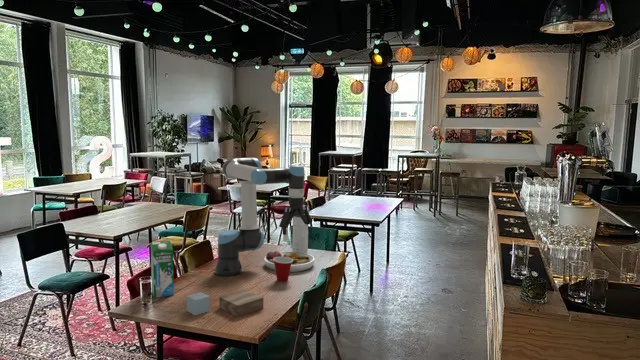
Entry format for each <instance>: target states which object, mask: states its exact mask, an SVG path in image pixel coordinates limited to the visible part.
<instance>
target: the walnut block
mask: <svg viewBox="0 0 640 360" xmlns="http://www.w3.org/2000/svg"><path fill="white" fill-rule="evenodd" d="M218 307H219V309H221V310H223V311H225V312H227V313H230V314H232V315H233V316H235V317H242V316H245V315H247V314H251V313H254V312H256V311H259V309H260V310H262V308H263V309H264V297H263V296H261V295H258V294H256V293H254V292H251V291H248V290H247V289H243V290H239V291H236V292H232V293H228V294H225V295H222V296H219V306H218Z"/></svg>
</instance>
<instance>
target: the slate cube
mask: <svg viewBox="0 0 640 360" xmlns="http://www.w3.org/2000/svg"><path fill="white" fill-rule="evenodd" d="M187 311H188V313H189V312H190V313H189V314H191V313H192V314H191V315H193V316H195V315H196V316H199V315H198V314H200V315H202V314H201V313H203V314H205V312H206V313H209V312H210V296H209V295H208V294H205V293H203V292H201V291H200V292H196V293H192V294H190V295H186V312H187Z"/></svg>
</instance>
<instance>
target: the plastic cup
mask: <svg viewBox="0 0 640 360" xmlns="http://www.w3.org/2000/svg"><path fill="white" fill-rule="evenodd" d="M273 260H274V264H275V270H276V271H275V270H274V271H275V275H276V280H277V282H279V283H285V282H288V281H289V276H290V273H291V272H290V267H291V264H292V262H293V259H291V258H288V257H275V258H273Z"/></svg>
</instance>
